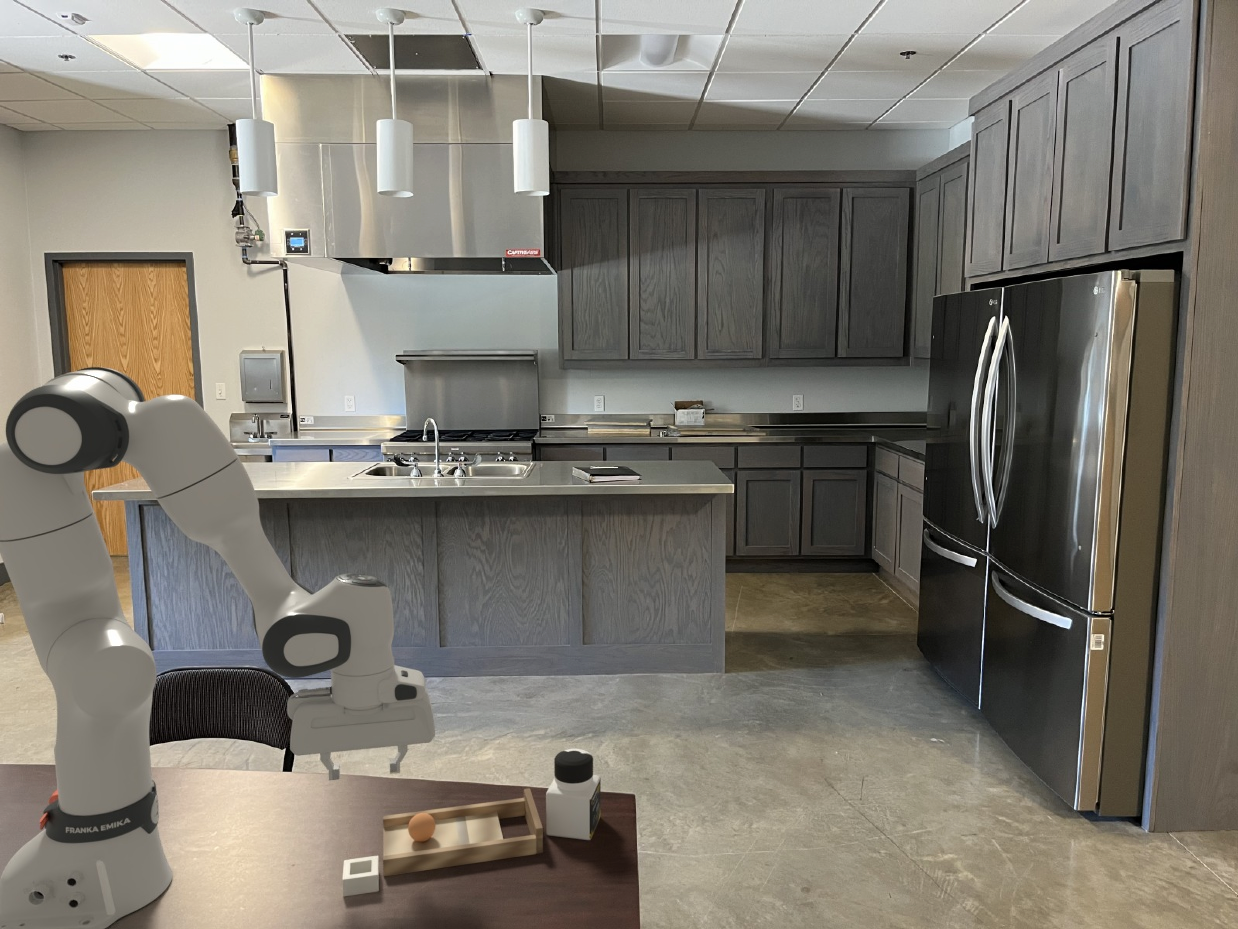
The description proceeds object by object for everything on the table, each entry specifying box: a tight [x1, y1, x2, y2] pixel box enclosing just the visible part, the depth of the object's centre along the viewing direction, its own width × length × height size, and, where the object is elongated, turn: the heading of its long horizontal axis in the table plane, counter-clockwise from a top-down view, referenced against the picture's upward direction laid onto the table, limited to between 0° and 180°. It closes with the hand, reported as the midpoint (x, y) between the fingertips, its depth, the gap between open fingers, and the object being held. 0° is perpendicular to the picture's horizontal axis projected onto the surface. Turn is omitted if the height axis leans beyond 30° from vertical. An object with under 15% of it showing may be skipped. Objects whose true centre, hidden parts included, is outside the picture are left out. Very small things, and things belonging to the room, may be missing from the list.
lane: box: [382, 787, 544, 877], centre depth 133 cm, size 23×12×4 cm, turn 105°
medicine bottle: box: [545, 748, 602, 841], centre depth 137 cm, size 7×7×12 cm
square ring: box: [342, 855, 380, 898], centre depth 122 cm, size 5×5×2 cm
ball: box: [408, 813, 435, 842], centre depth 131 cm, size 4×4×4 cm
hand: (364, 775), depth 128 cm, fingers open, 7 cm apart
